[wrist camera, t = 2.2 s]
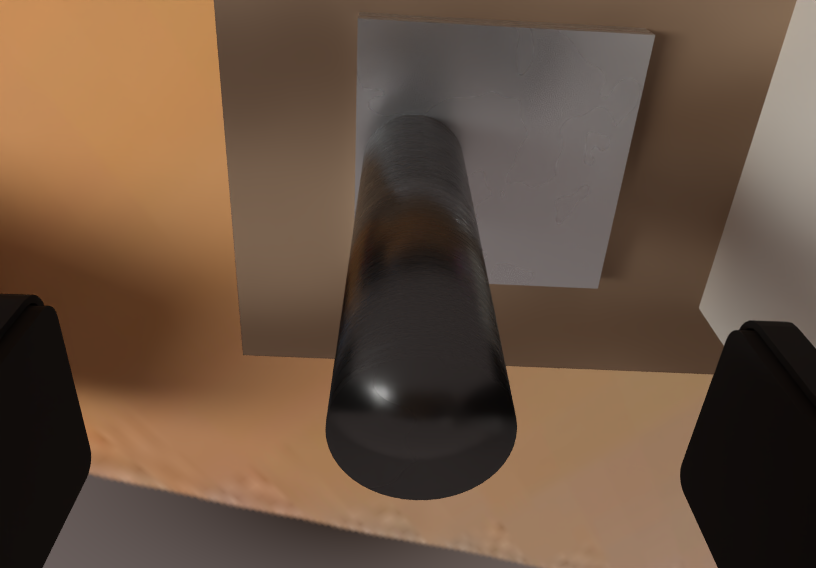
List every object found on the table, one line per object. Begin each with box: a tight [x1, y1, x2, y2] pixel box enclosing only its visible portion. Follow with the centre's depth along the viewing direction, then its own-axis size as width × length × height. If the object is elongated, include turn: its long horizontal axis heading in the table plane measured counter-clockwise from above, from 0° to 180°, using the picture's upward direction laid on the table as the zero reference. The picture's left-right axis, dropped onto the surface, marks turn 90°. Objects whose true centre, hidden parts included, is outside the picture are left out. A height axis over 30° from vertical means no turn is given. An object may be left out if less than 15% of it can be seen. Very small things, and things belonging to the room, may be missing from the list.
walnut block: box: [214, 0, 797, 374], centre depth 24 cm, size 14×28×12 cm, turn 87°
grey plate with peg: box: [326, 12, 655, 500], centre depth 14 cm, size 7×7×11 cm
